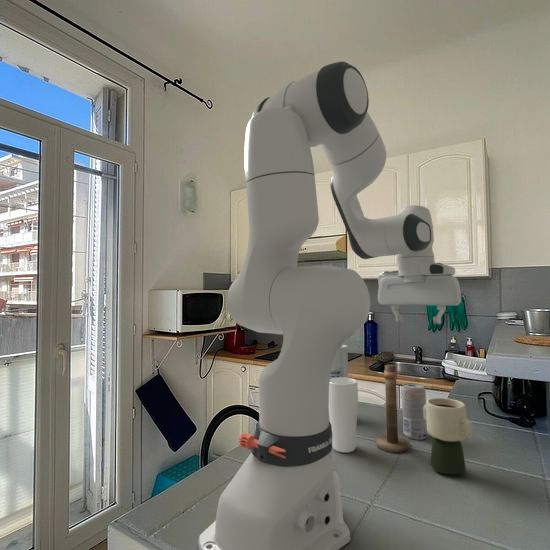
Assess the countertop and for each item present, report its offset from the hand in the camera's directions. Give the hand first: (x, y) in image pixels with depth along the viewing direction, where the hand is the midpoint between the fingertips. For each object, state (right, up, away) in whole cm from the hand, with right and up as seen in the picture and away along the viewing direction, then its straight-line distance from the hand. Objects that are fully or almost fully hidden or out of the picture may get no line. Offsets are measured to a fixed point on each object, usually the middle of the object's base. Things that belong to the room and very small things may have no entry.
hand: (417, 323), depth 90 cm
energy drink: (-3, -27, -5) cm, 28 cm away
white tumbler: (-21, -27, -12) cm, 36 cm away
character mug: (-3, -26, -22) cm, 34 cm away
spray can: (-19, -28, +8) cm, 35 cm away
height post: (-10, -27, -11) cm, 30 cm away
